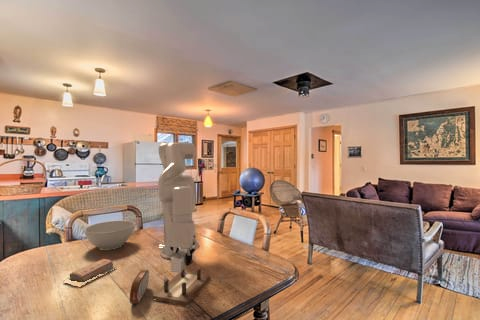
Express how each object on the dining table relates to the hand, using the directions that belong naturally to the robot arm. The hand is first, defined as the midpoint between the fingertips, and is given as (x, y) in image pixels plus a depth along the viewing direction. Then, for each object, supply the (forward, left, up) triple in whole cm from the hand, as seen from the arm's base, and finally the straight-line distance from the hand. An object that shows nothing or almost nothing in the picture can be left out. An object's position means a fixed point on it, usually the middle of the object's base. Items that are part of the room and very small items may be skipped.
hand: (183, 263), depth 97 cm
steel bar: (0, 0, 0) cm, 0 cm away
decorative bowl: (-65, +29, -10) cm, 72 cm away
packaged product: (-45, -2, -11) cm, 46 cm away
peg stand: (0, 0, -10) cm, 10 cm away
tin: (-13, -9, -11) cm, 19 cm away
